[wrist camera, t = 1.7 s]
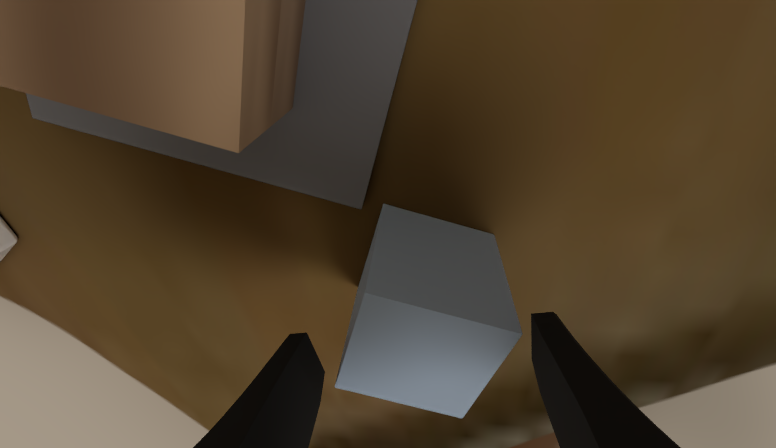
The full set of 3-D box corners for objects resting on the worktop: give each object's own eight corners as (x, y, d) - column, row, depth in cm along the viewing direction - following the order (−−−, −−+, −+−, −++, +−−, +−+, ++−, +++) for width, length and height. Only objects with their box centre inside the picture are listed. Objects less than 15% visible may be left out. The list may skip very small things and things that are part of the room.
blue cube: (493, 233, 14) (522, 334, 10) (453, 311, 17) (462, 418, 12) (383, 202, 14) (364, 292, 10) (358, 286, 16) (334, 387, 12)
